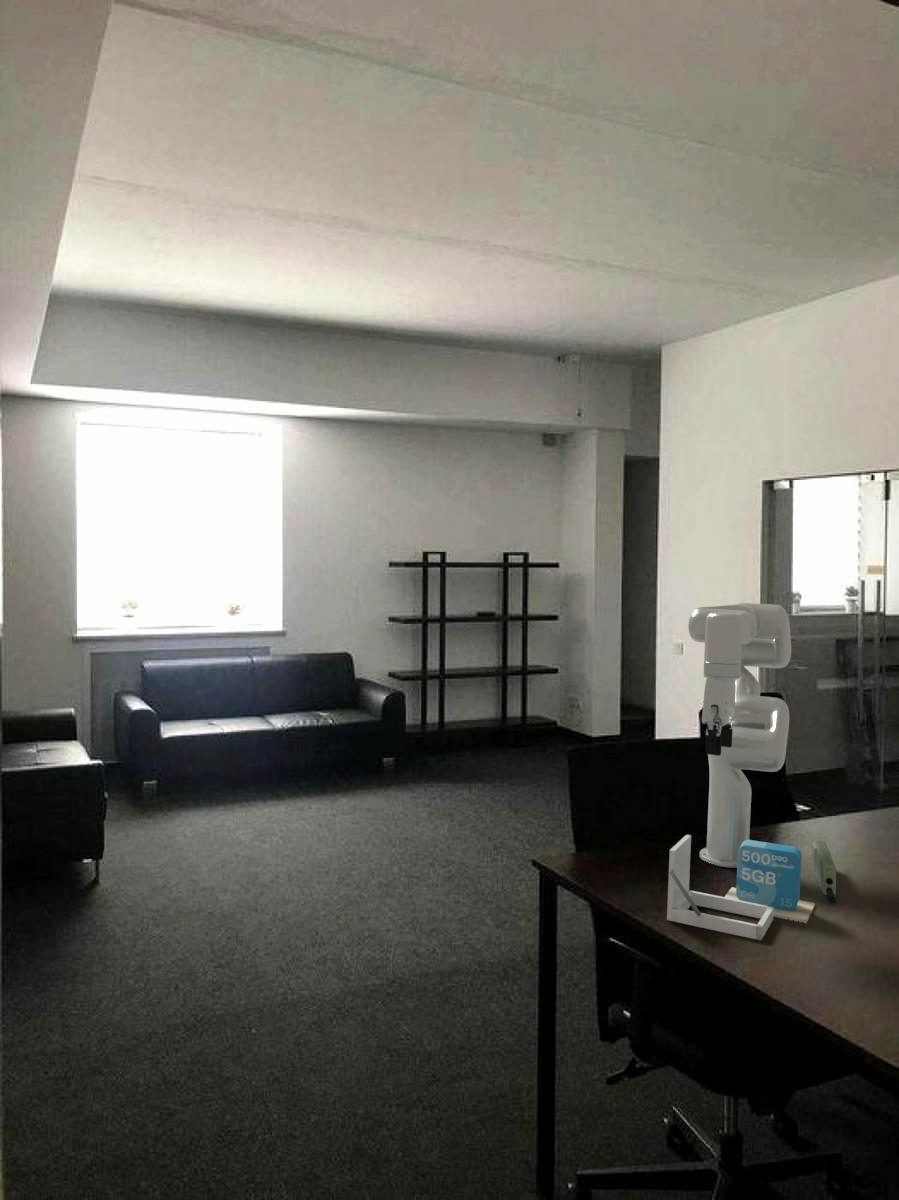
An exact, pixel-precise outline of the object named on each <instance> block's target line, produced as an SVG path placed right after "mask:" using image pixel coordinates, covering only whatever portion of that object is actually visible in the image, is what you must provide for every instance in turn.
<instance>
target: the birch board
mask: <svg viewBox="0 0 899 1200" xmlns="http://www.w3.org/2000/svg"><path fill="white" fill-rule="evenodd" d="M724 897H726V898H731V899H736V900H739V899H738V898H737V895H736V887H734V886H732V887H731V888H730V889H729V890H728V891H727V893H725V896H724ZM815 907H816V902H811V901H806V900H805V901H804V900H800V899H799V901H798V904H797V907H796V908H795V909H793V910H785V909H779V908H774V917H775V918H778V919H784V920H788V919H789V920H788V921H793V920H794V921H793V922H798V921H799V922H798V923H802V922H803V923H804V924H807V923H808V921H809V919H810V917H811V915H812V913H813V911H814V909H815Z"/></svg>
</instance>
